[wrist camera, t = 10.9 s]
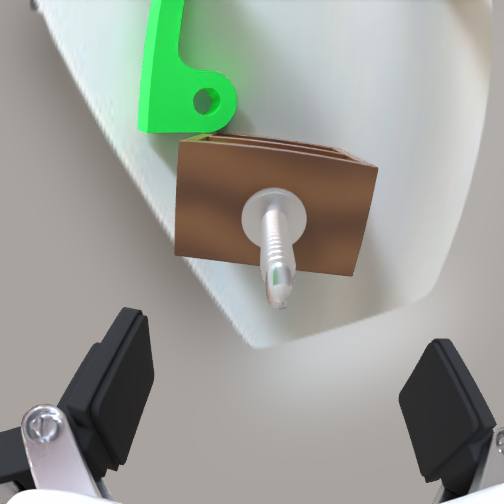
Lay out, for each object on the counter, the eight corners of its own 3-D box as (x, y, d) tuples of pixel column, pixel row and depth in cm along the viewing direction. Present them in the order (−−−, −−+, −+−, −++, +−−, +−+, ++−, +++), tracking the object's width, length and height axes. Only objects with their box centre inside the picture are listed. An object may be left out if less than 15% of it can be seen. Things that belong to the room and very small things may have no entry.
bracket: (210, 129, 39) (233, 134, 33) (137, 129, 35) (147, 133, 29) (226, -6, 31) (251, -22, 25) (154, -16, 26) (169, -38, 20)
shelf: (209, 131, 36) (178, 140, 23) (340, 148, 36) (378, 167, 23) (203, 209, 40) (174, 255, 27) (326, 224, 40) (352, 276, 27)
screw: (286, 171, 24) (313, 223, 25) (232, 200, 25) (261, 249, 27) (307, 230, 12) (350, 319, 14) (202, 282, 13) (257, 357, 15)
